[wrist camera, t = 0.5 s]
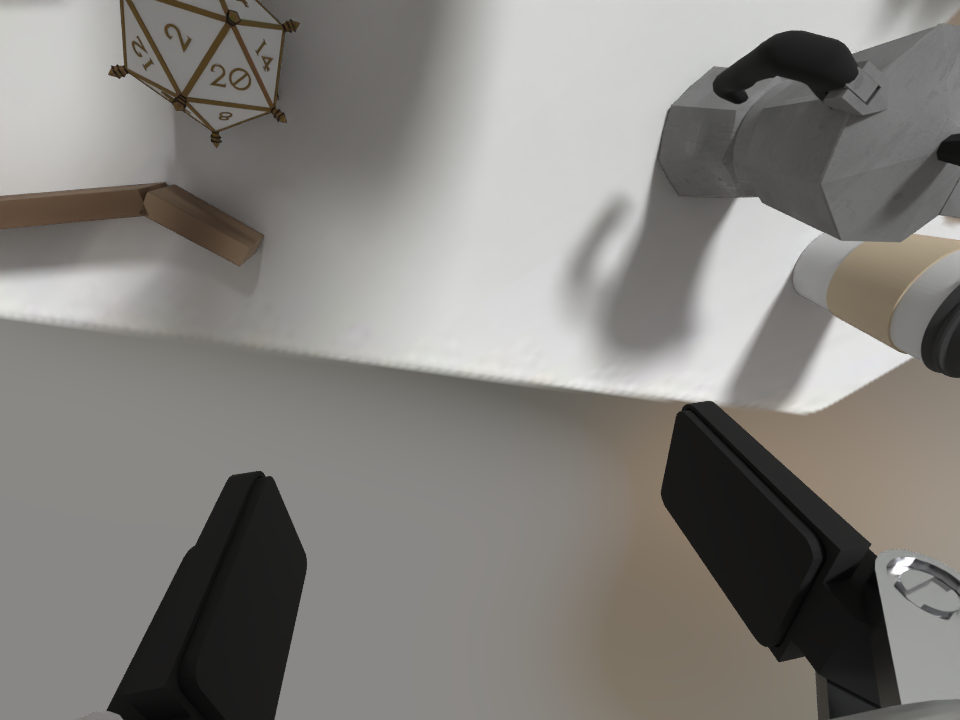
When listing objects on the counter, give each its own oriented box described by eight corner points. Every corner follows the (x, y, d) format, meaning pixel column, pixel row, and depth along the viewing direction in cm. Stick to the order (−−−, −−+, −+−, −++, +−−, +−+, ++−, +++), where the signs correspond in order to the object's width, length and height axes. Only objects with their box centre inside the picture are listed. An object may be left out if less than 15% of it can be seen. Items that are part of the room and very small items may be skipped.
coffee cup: (768, 260, 38) (953, 330, 26) (863, 190, 37) (1114, 227, 24) (797, 325, 43) (969, 414, 30) (883, 265, 41) (1107, 332, 28)
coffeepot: (812, 116, 33) (1177, 111, 17) (732, 230, 36) (976, 310, 21) (665, -3, 28) (998, -162, 12) (588, 143, 31) (771, 163, 16)
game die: (271, 42, 29) (343, -19, 22) (256, 171, 29) (319, 152, 23) (92, -59, 22) (113, -192, 15) (79, 110, 23) (93, 57, 16)
